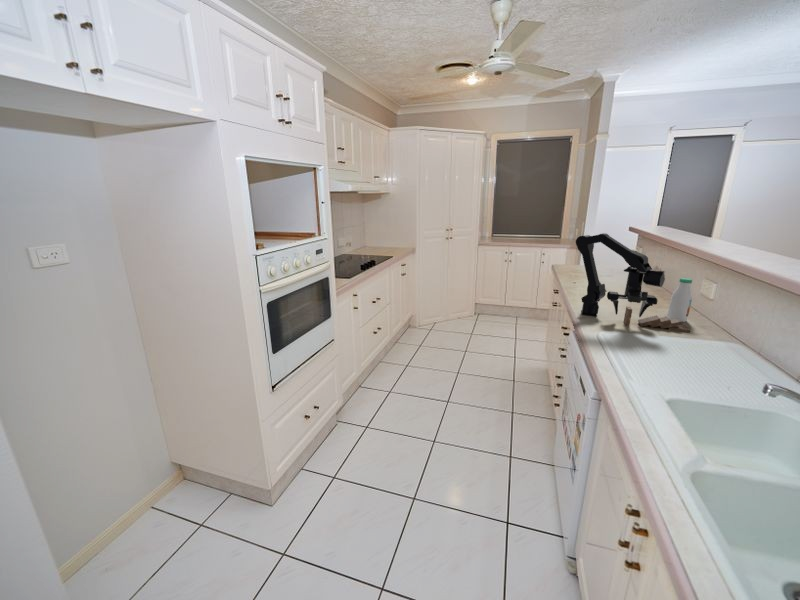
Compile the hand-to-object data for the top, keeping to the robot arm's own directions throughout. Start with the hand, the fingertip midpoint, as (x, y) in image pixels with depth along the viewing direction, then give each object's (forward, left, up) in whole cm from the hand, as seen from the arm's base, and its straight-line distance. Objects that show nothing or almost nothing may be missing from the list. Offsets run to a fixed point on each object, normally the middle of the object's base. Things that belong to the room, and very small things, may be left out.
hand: (627, 315), depth 162 cm
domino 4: (+13, 0, -3) cm, 13 cm away
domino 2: (+5, 0, -3) cm, 6 cm away
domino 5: (+16, 0, -3) cm, 16 cm away
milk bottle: (+23, +16, -4) cm, 28 cm away
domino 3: (+9, 0, -3) cm, 9 cm away
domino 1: (0, -1, -4) cm, 4 cm away
